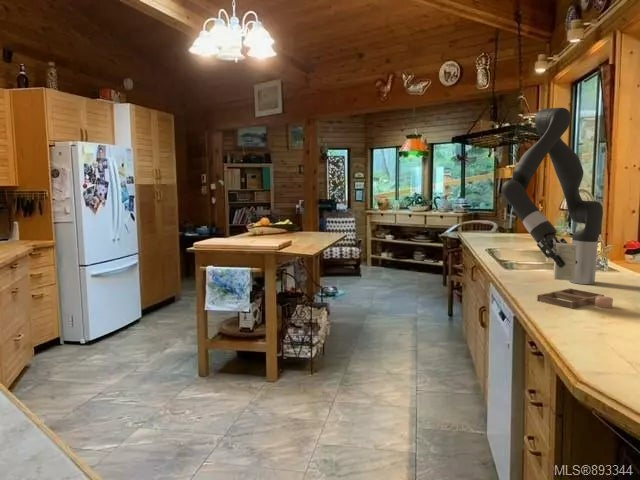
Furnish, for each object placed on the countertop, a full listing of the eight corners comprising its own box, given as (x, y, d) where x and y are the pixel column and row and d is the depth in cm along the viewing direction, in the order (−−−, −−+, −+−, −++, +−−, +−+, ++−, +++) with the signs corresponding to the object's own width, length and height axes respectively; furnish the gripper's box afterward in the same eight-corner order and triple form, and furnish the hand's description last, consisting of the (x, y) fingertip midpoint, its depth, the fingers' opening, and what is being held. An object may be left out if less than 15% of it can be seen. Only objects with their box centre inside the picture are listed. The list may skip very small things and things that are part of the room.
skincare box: (572, 279, 168) (575, 243, 167) (574, 281, 164) (577, 245, 163) (552, 277, 170) (555, 242, 169) (553, 279, 166) (556, 243, 165)
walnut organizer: (569, 293, 182) (569, 288, 182) (603, 300, 172) (604, 294, 172) (537, 300, 170) (537, 295, 170) (571, 308, 161) (572, 302, 160)
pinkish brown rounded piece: (599, 304, 168) (600, 295, 167) (614, 307, 164) (615, 298, 163) (591, 306, 165) (592, 297, 165) (607, 309, 161) (608, 300, 160)
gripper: (535, 220, 167) (566, 260, 159) (558, 219, 175) (589, 257, 167) (519, 234, 172) (549, 273, 164) (543, 232, 180) (572, 270, 172)
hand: (569, 265), depth 165 cm, fingers closed on skincare box, 7 cm apart
